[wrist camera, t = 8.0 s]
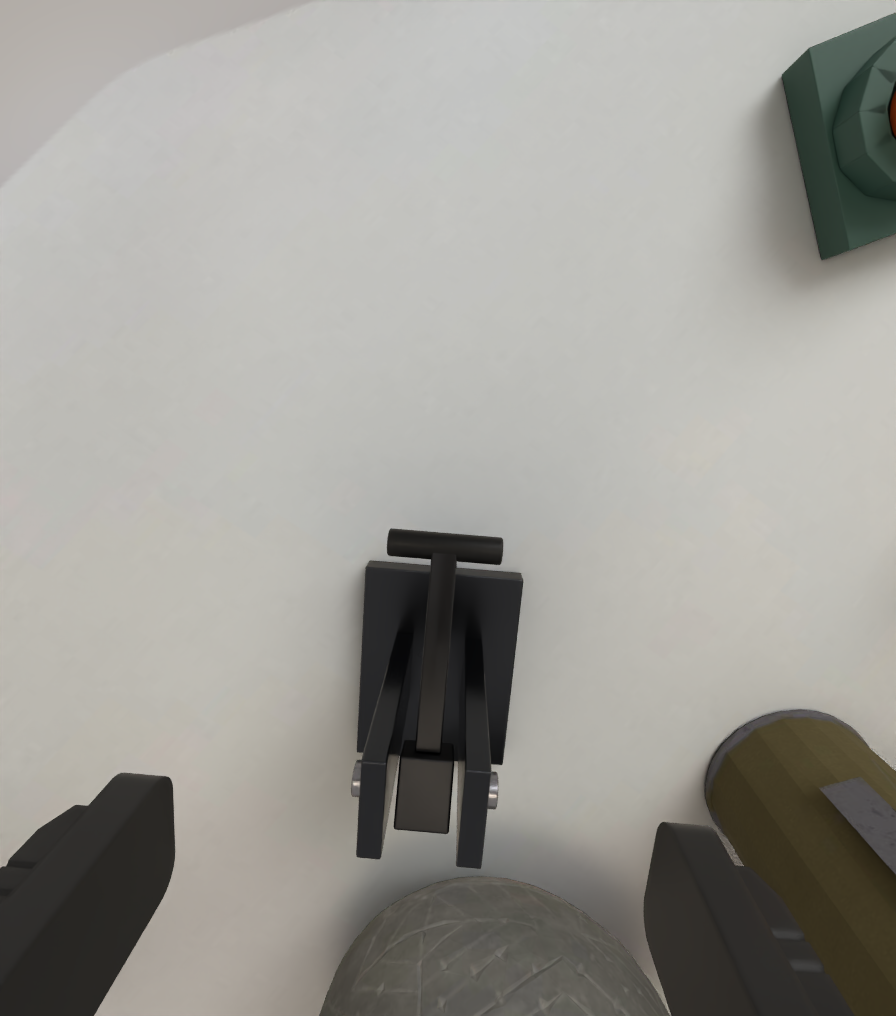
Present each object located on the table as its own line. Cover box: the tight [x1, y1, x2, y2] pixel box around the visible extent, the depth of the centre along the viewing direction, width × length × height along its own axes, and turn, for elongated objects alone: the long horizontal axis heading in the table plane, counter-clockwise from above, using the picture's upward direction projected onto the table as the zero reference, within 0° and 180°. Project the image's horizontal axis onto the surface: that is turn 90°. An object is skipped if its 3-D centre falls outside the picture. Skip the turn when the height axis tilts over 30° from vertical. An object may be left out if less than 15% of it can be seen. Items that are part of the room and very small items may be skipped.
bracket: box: [351, 561, 523, 869], centre depth 28 cm, size 12×9×13 cm
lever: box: [387, 529, 503, 834], centre depth 24 cm, size 12×5×2 cm, turn 175°
